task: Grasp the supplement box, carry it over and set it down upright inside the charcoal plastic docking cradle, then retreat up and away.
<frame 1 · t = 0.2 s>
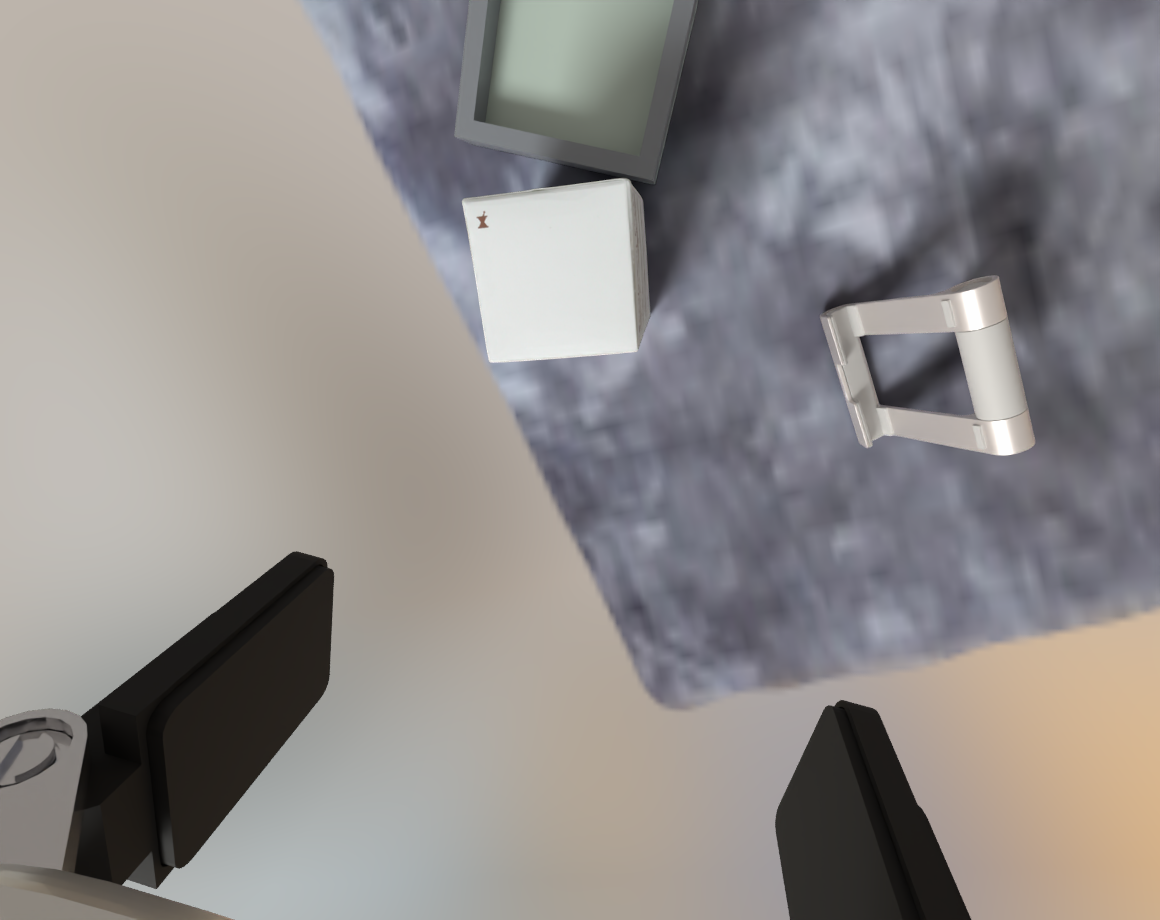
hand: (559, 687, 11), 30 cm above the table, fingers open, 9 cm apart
portable electronic device stand: (900, 354, 36), on the table
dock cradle: (582, 53, 33), on the table
supplement box: (592, 265, 37), on the table
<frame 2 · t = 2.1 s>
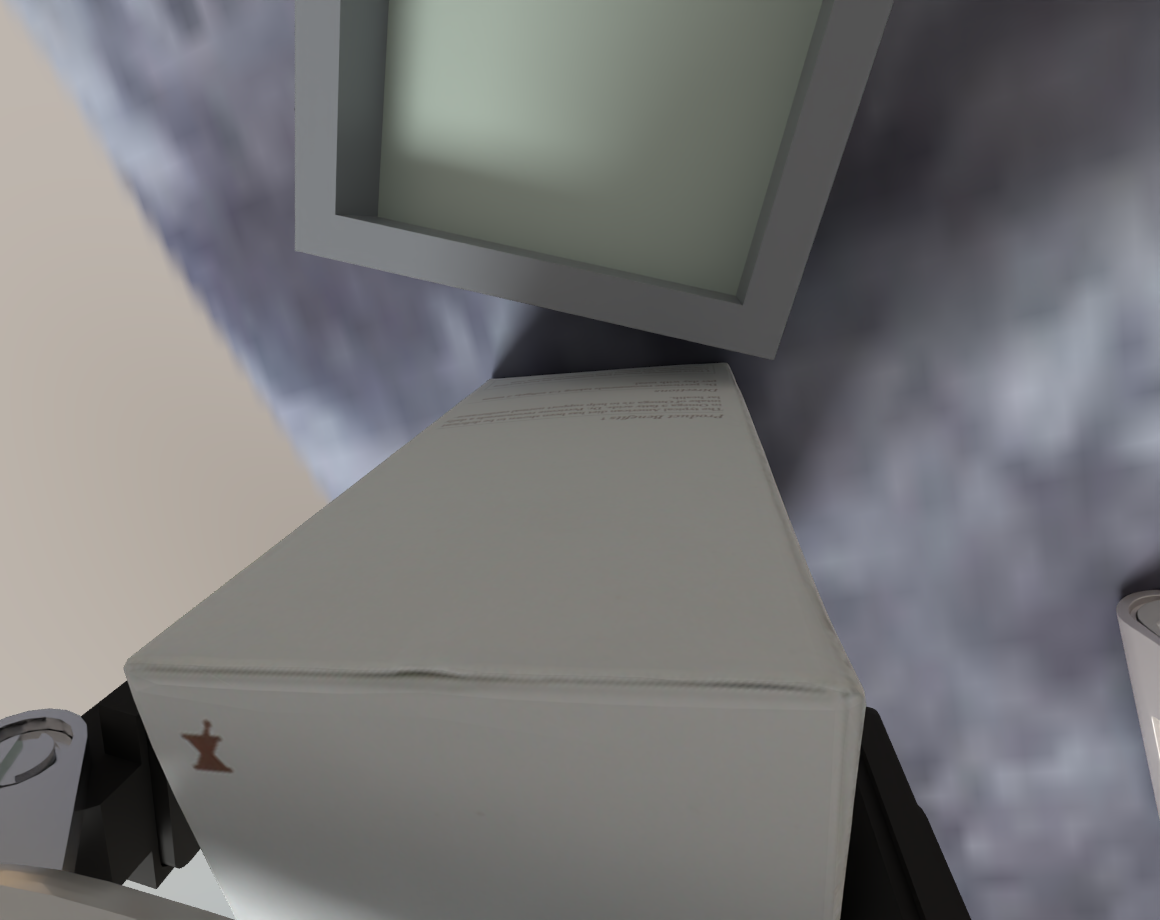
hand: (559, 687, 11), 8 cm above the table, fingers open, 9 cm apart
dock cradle: (595, 47, 14), on the table
supplement box: (617, 481, 18), on the table
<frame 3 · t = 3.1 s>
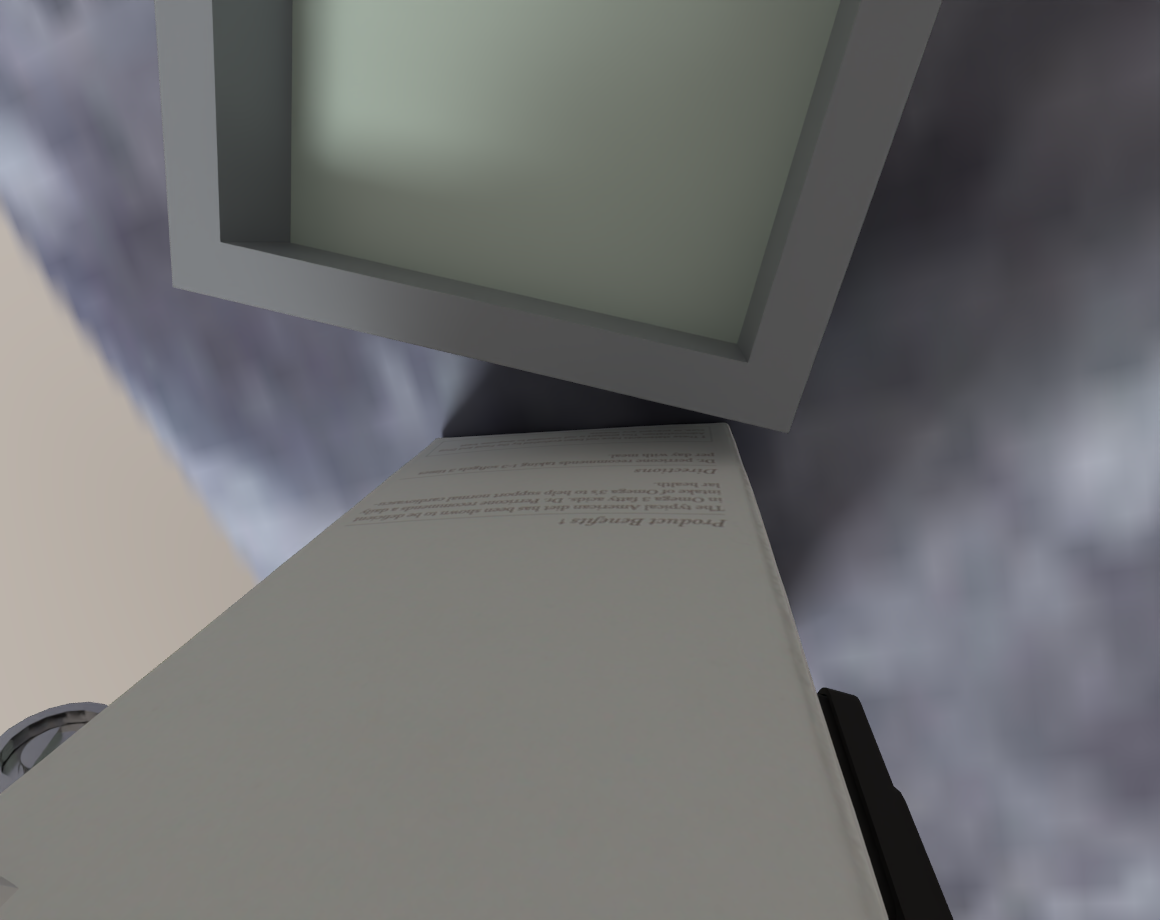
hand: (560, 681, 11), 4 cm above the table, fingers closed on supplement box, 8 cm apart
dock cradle: (558, 32, 11), on the table
supplement box: (595, 558, 15), on the table, touching gripper
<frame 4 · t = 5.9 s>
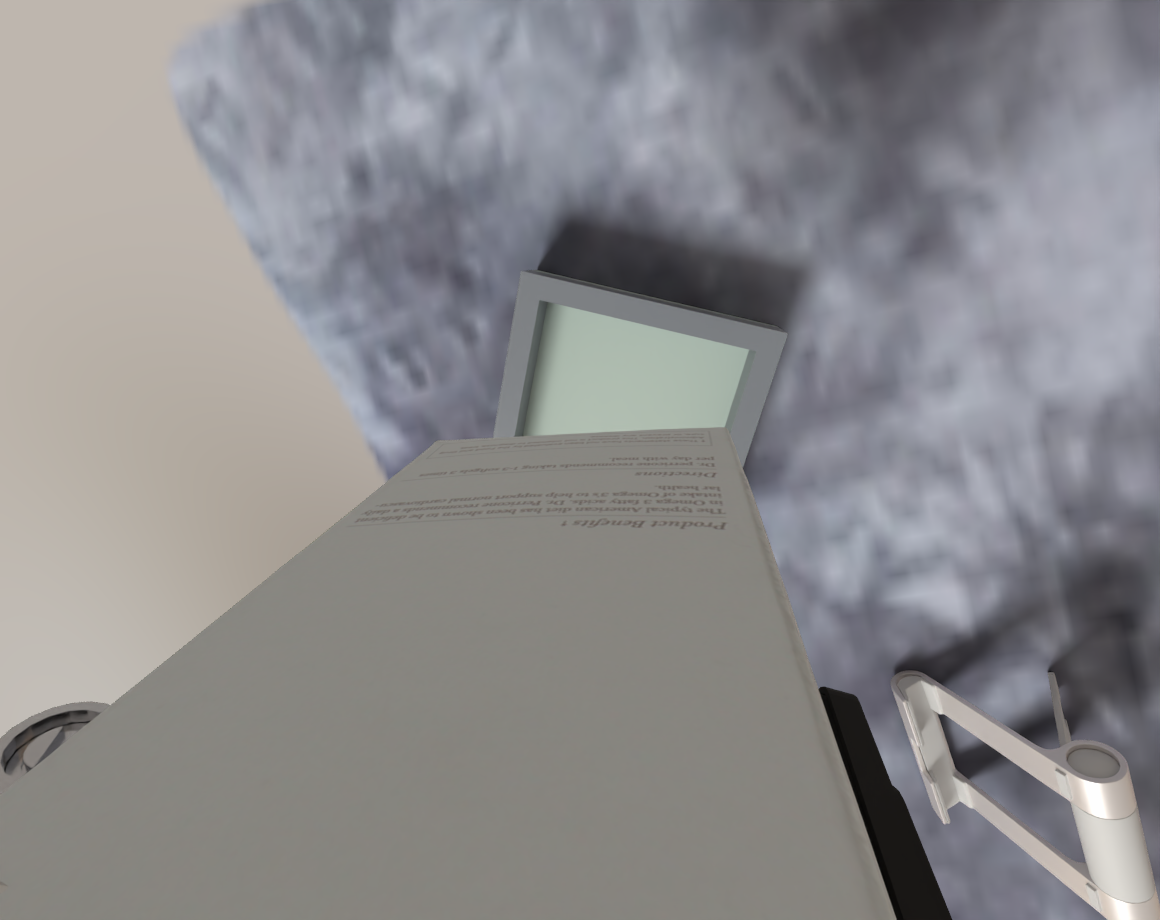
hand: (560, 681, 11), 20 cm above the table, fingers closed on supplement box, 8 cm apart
portable electronic device stand: (979, 716, 32), on the table
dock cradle: (625, 413, 29), on the table
supplement box: (593, 561, 15), point 15 cm above the table, touching gripper
when the fingers open (6 cm above the table, at t = 9.2 s): supplement box drops 1 cm, resting on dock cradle.
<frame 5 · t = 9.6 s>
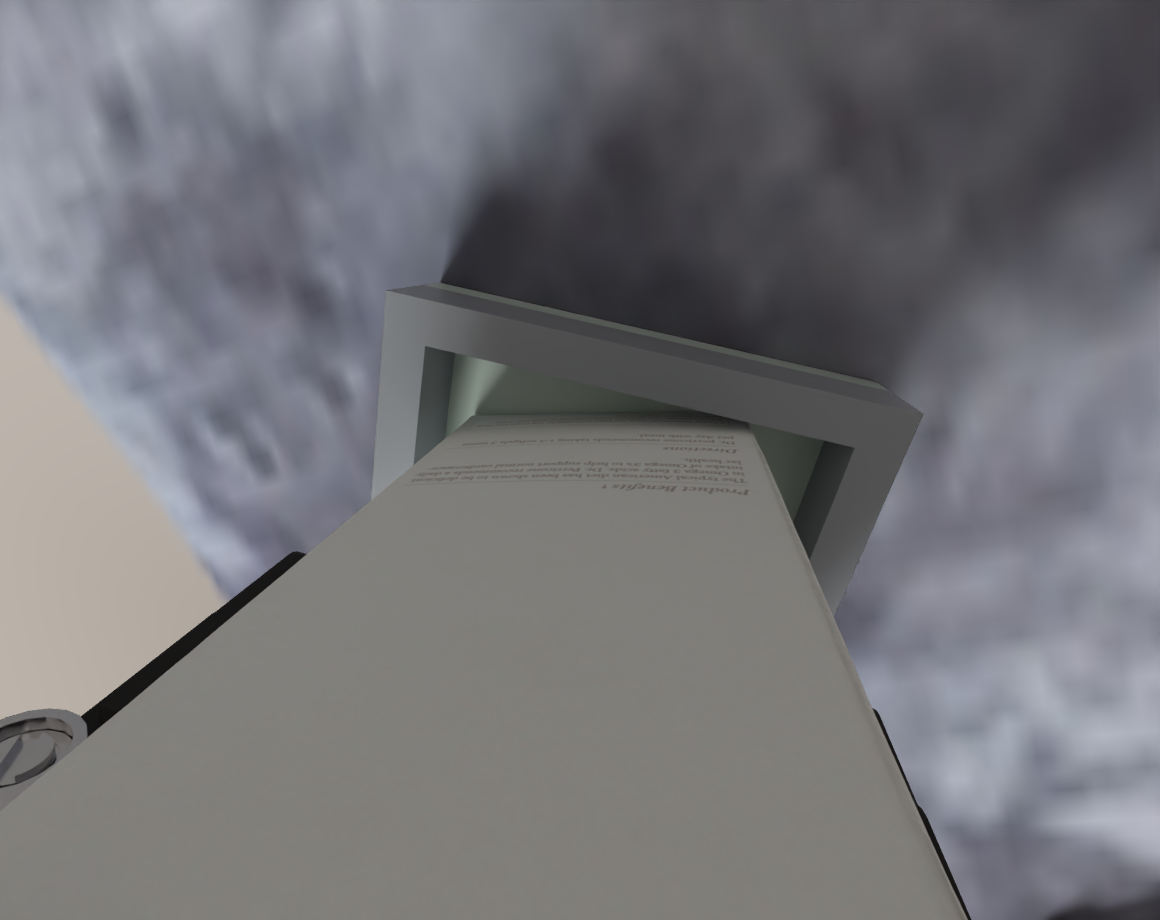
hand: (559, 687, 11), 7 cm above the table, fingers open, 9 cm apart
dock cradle: (604, 524, 17), on the table
supplement box: (612, 533, 16), point 1 cm above the table, touching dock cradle
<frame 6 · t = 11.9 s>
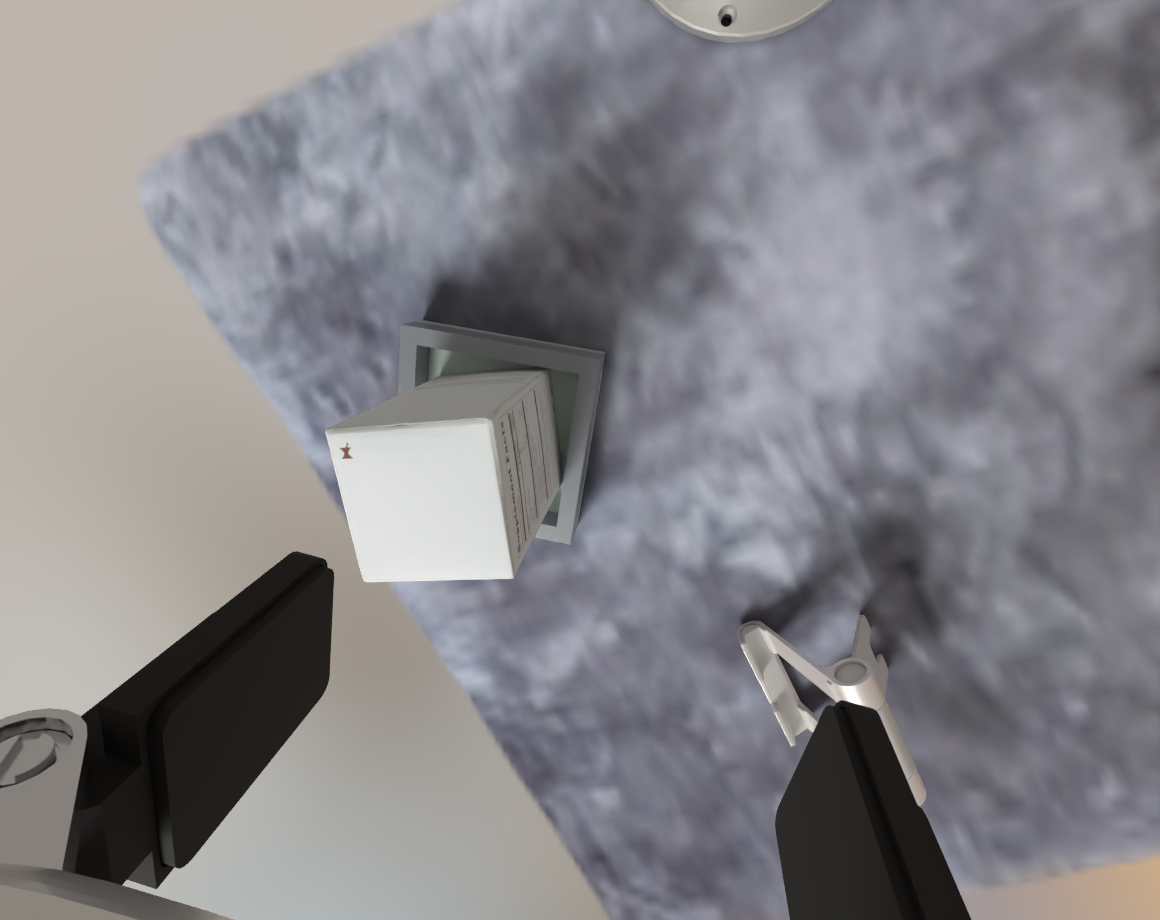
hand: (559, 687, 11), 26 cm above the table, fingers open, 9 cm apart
portable electronic device stand: (815, 656, 39), on the table
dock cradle: (503, 425, 37), on the table
supplement box: (504, 427, 36), point 1 cm above the table, touching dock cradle
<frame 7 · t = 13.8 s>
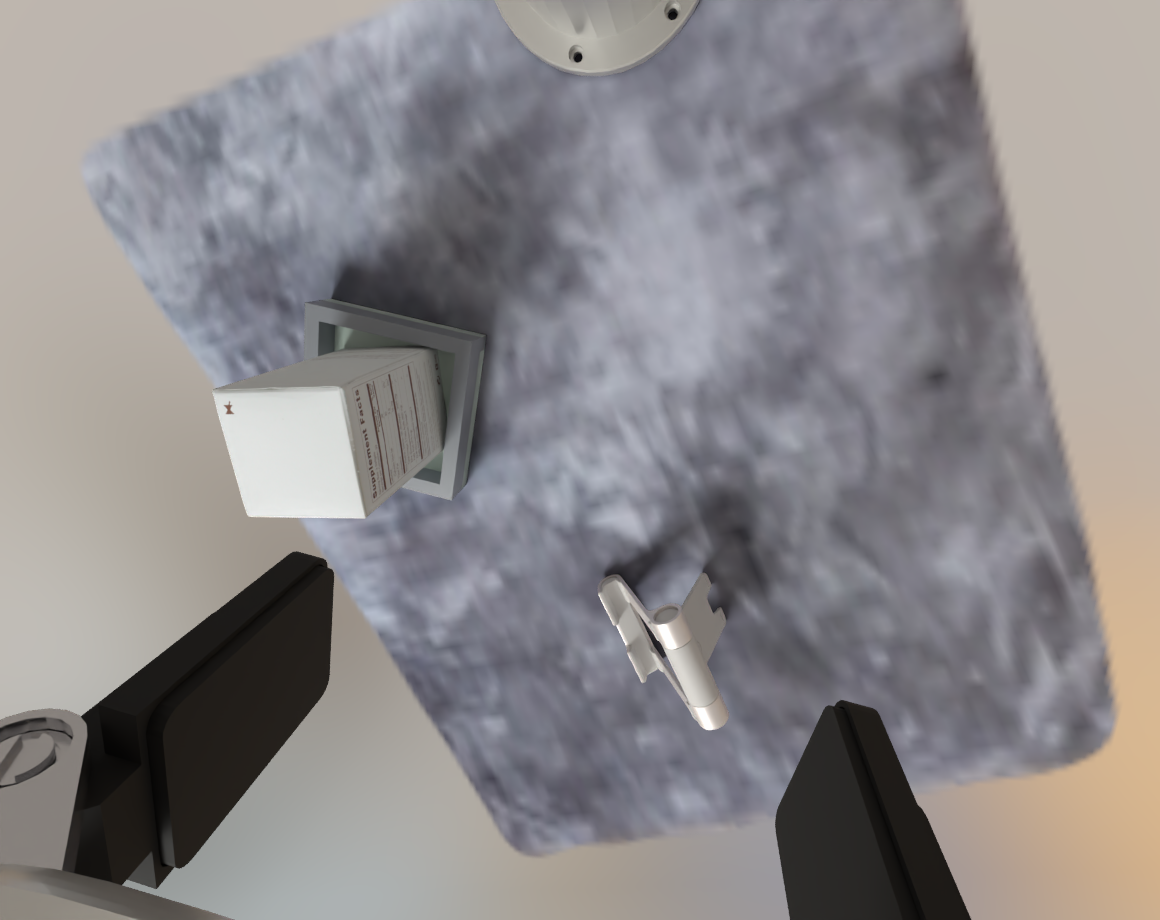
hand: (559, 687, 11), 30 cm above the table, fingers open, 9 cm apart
portable electronic device stand: (667, 607, 45), on the table
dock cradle: (401, 395, 42), on the table
supplement box: (400, 396, 41), point 1 cm above the table, touching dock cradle
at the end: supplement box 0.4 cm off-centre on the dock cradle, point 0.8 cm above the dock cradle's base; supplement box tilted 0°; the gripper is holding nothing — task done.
